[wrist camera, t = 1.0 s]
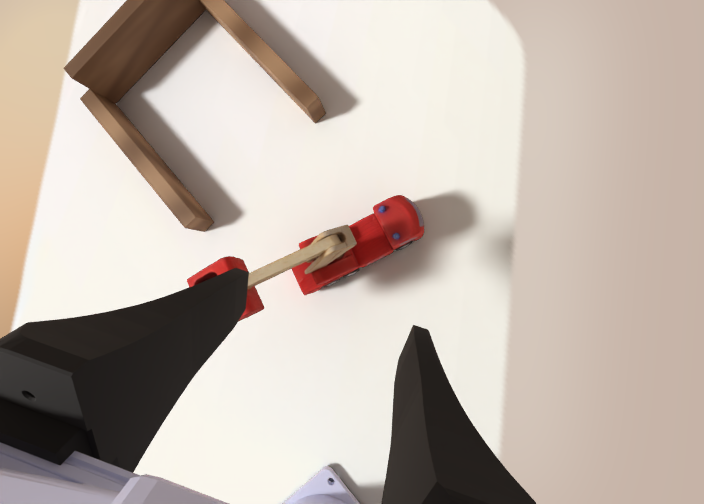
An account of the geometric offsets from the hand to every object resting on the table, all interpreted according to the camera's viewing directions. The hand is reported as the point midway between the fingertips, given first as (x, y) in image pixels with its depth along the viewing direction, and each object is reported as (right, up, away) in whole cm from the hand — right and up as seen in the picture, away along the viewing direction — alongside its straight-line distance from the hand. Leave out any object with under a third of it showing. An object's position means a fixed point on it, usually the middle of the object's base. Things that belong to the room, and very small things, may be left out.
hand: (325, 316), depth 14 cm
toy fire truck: (0, +2, +12) cm, 12 cm away
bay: (-11, +15, +15) cm, 24 cm away
